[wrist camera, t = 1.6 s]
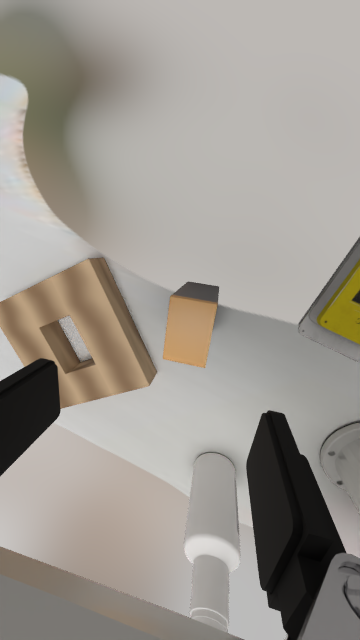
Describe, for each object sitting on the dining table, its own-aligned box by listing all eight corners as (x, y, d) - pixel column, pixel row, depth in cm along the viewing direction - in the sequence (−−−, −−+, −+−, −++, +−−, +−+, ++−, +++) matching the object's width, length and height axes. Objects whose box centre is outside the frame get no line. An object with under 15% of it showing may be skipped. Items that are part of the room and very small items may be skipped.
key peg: (219, 286, 27) (217, 304, 17) (210, 330, 29) (205, 367, 19) (188, 281, 27) (170, 296, 18) (181, 324, 29) (162, 358, 20)
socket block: (103, 257, 28) (88, 258, 25) (156, 372, 32) (149, 385, 29) (11, 302, 33) (-12, 307, 30) (66, 396, 37) (51, 410, 34)
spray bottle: (197, 481, 37) (177, 668, 21) (191, 450, 36) (163, 629, 19) (237, 483, 36) (251, 688, 19) (232, 452, 34) (243, 647, 17)
